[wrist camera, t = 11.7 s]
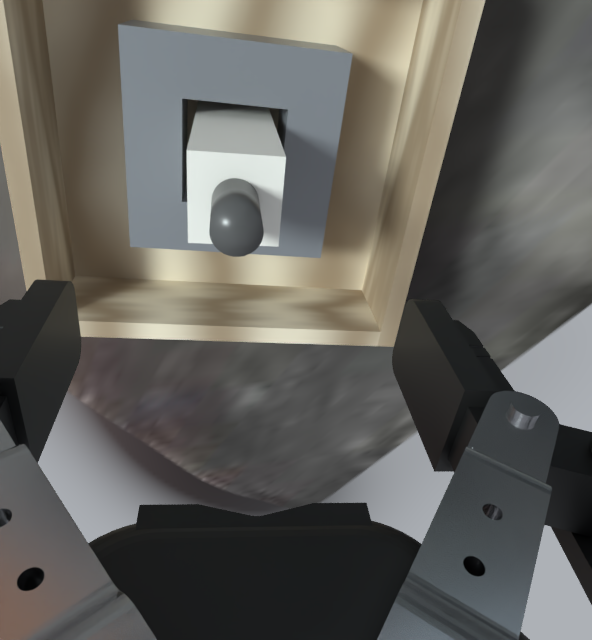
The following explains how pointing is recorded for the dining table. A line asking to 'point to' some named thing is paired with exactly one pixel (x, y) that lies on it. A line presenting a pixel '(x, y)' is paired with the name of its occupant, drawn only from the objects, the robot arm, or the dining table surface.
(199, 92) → the block
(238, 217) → the plug
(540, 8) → the dining table surface
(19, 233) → the walled box
